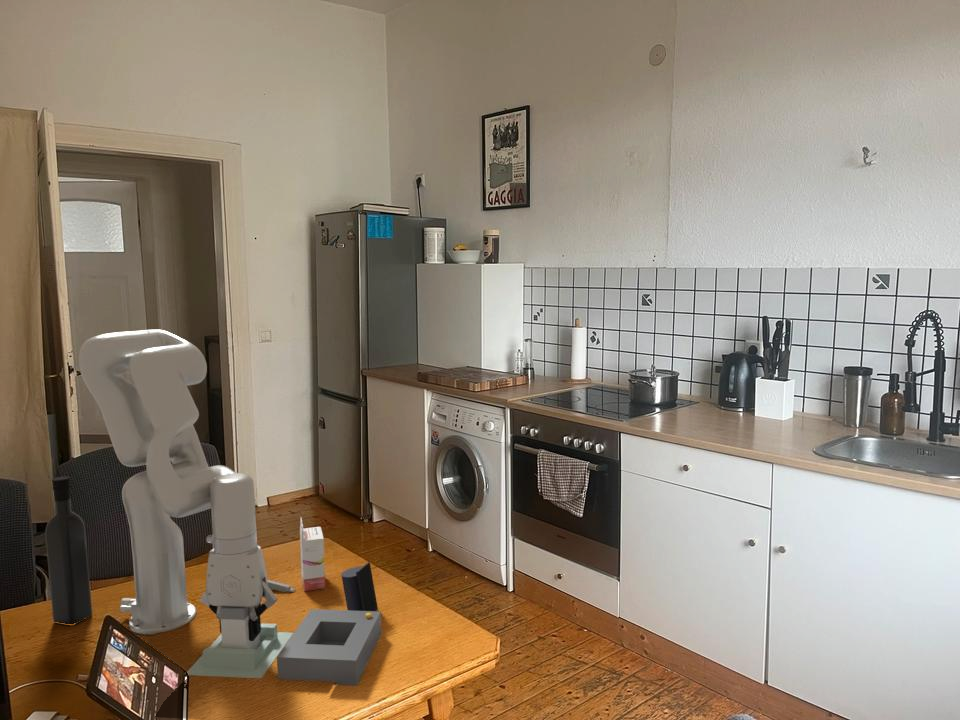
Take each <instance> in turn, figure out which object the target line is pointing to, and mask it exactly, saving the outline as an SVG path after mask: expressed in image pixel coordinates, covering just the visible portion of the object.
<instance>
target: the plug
mask: <svg viewBox="0 0 960 720" xmlns="http://www.w3.org/2000/svg"><path fill="white" fill-rule="evenodd" d="M220 619H221V633H220V635H222V648H233V649H257V648H258V647H259V645H260V636H259V635H258V636H257V637H256V638H255V639H254V641H250V640H249V625H248V622H249V620H250V614H249V611H248V607H224V606H222V607H221V608H220Z"/></svg>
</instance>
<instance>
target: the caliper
mask: <svg viewBox="0 0 960 720" xmlns="http://www.w3.org/2000/svg"><path fill="white" fill-rule="evenodd" d="M267 583H268V587H269V588H270V589H271V590H273V591H277V592H283V593H294V592H296V589H295V588H292V587H291V585H290V584H286V583H282V582H280V581H279V582H278V581H275V580H270V579H267Z"/></svg>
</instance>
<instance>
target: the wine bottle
mask: <svg viewBox="0 0 960 720" xmlns="http://www.w3.org/2000/svg"><path fill="white" fill-rule="evenodd" d="M51 482H52V490H53V495H54V508H55V513H54V515H53V516H51V518H50V519H49V520H48V522H47V524H46V526H45V532H44V536H45V545H46V546H45V547H46V555H47V556H46V559H47V565H48V566H47V567H48V578H49V589H50V600H51V601H50V602H51V610H52V611H51V612H52V620H53V621H54V622H59V623H65V624H74V623H77V622H79V621H81V620H83V619H84V618H86V617H88V616H90V615H92V616H93V606H92V596H91V585H90V584H91V582H90V571H89V559H88V549H87V548H88V547H87V537H86V535H87V534H86V527H85V523H84V520H83V519H82V517H81V516H80V515H79V514H77V513H76V512H74V511H72V504H71V503H72V502H71V492H70V491H71V490H70V488H71V484H70V477H69V476H64V475H63V476H58V477H53V478H52V479H51ZM90 617H91V616H90ZM83 621H84V620H83ZM54 622H53V623H54Z"/></svg>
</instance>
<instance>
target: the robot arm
mask: <svg viewBox="0 0 960 720" xmlns="http://www.w3.org/2000/svg"><path fill="white" fill-rule="evenodd" d="M78 354H79V355H78V365H79V371H80V374H81V375H80V376H81V377H82V380H83V382H84V384H85V386H86V387H87V389H88V391H89V392H90V394H91V396H92V398H94V400H95V401H96V404H97V405H98V407H99V409H100V412H101V415H102V419H103V421H104V424H105V428H106V429H107V433H108V435H109V439H110V441H111V443H112V447H113V449H114V452H115V455H116V457H117V460H119V462H120V463H121V464H122V465H123V466H125V467H129V468H135V467H140V466H142V467H143V466H146V469H145V470H144V471H141V472H138V473H136V474H134V475H133V476H131V477H129V478H128V479H127V480H126V481H125V483H124V484H123V486H122V490H121V498H122V499H121V500H122V504H123V507H124V511H125V514H126V518H127V521H128V526H129V533H130V540H131V541H130V542H131V553H132V565H133V567H132V568H133V579H134V590H135V591H134V592H135V598H132V597H123V598H121V600H120V607H119V612H121V613H130V614H131V617H130V618H129V621H128V623H129V625H128V626H129V629H130V630H131V632H134V633H136V634H139V635H146V634H147V636H148V635H151V636H152V635H153V636H154V635H157V633H165V632H169V631H171V630H175V629H178V628H181V627H183V626H185V625H186V624H188V623H190V622H191V621H192V620H193V619H194V618H196V615H197V610H196V609H197V608H196V607H195V605H193V604H192V603H190V602H188V592H187V591H188V590H187V578H186V563H185V548H184V537H183V533H182V530H181V528H180V527H179V526H178V525H177V523H176V522H174V521H173V519H172V518H176V519H177V518H180V519H181V518H185V517H188V516H192V515H195V514H198V513H201V512H204V511H207V510H210V509H211V525H212V526H211V527H212V534H211V535H210V534H208V535H207V536H206V543H210V544H212V549H210V551H209V552H208V553H209V554H208V558H207V567H206V580H205V581H206V582H205V583H206V585H205V591H204V592H203V593H202V596H201V597H200V599H199V600H200V602H201V603H202V604H204V605H205V606H207V607H209V609H210V610H211V611H212V613H214V614H215V615H216V616H215V618H216V619H218V620H219V632H220V634H221V619H220V608H221V607H222V606H224V607H248V611H249V614H250V620H249V622H248V625H249V640H250V641H254V639H255V638H256V637H257V636H258V635H259V634H260V632H261V615H262V614H263V613H265V611H267V610H268V609H269V608H271V607H273V606H274V605H275V604H276V603H277V602H278V598H277V596H276V595H275V593H274V592H273V591H272V589H270V588H269V587H268V583H267V580H268V576H267V567H266V563H265V558H264V555H263V550H262V548H261V546H260V545H258V537H257V534H258V533H257V532H258V531H257V518H256V517H257V516H256V514H257V513H256V501H255V500H256V499H255V483H254V480H253V478H252V477H251V475H249V474H247V473H241V472H236V471H234V470H232V469H231V468H230V467H228V466H226V465H222V464H221V465H220V464H217V465H211V466H209V464H208V462H207V459H206V456H205V453H204V449H203V447H202V445H201V442H200V439H199V435H198V433H197V431H196V429H195V426H194V425H195V423H196V422H197V420H198V419H199V417H200V412H199V409H198V406H197V405H196V404H195V401H194V398H193V397H192V395H191V392H190V390H189V389H188V386H193V385H199V384H200V383H202V382H203V381H204V380H205V378H206V376H207V373H208V370H207V369H208V366H207V365H208V363H207V361H206V358H205V356H204V354H203V353H202V351H201V350H200V348H198V347H197V346H196V345H194V344H193V343H192V342H190V341H188V340H186V339H184V338H182V337H180V336H178V335H176V334H173V333H171V332H169V331H167V330H165V329H164V330H163V329H142V330H130V331H117V332H115V331H114V332H108V333H102V334H98V335H96V336H93V337H90V338H88V339H87V340H85V341H84V342H83V344H82V345H81V347H80V349H79V353H78ZM125 374H129V376H130V378H131V380H132V381H130V380H128V379H126V378H125V377H124V376H123V375H125ZM263 598H264V599H265V601H263V602H262V600H263ZM261 602H262V603H261Z"/></svg>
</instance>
